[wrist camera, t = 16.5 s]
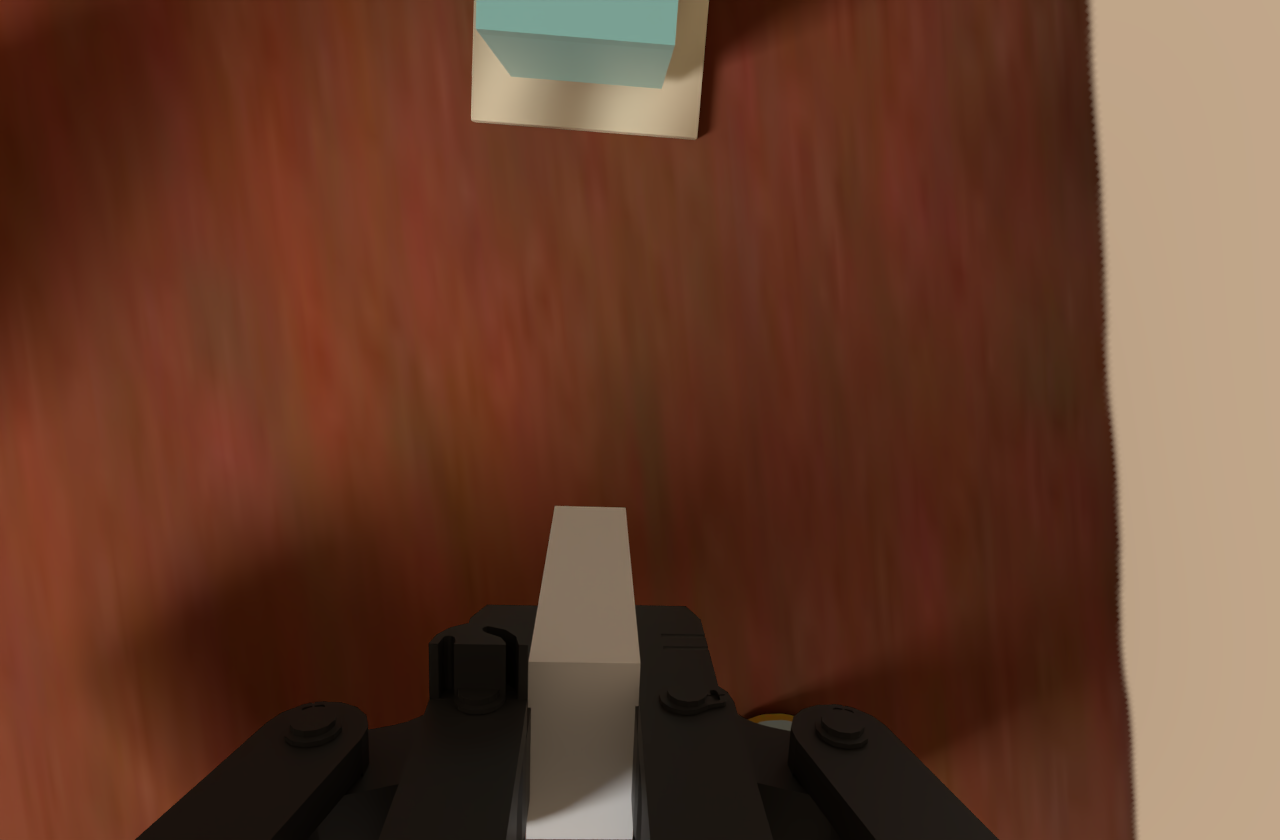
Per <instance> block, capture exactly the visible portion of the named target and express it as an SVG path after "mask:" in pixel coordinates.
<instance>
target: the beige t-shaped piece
mask: <svg viewBox="0 0 1280 840" xmlns="http://www.w3.org/2000/svg"><path fill="white" fill-rule="evenodd" d="M708 6H709V0H678V12H677V25H676V38H675V47H674V50H673V53H672V57H671V60H670V63H669V66H668V70H667V73H666V76H665V79H664V83H663V86H662V89H658V88H646V87H633V86H621V85H609V84H596V83H584V82H572V81H559V80H547V79H535V78H522V77H511V76H510V74H509V73H508V72H507V70H506V69H505V68H504V66H503V65H502V64H501V62H500V61H499V60H498V58H497V57H496V56H495V54H494V53H493V51H492V50H491V49H490V47H489V46H488V45H487V43H486V42H485V41H484V39H483V38H482V37H481V35H480V34H479V33H478V31H477V30H476V0H474V21H473V62H472V102H471V120H472V121H473V122H480V123H492V124H505V125H517V126H529V127H542V128H554V129H567V130H579V131H592V132H604V133H617V134H629V135H642V136H654V137H667V138H679V139H692V140H696V139H697V134H698V123H699V111H700V99H701V88H702V76H703V64H704V52H705V41H706V29H707V17H708Z"/></svg>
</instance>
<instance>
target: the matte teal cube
mask: <svg viewBox="0 0 1280 840" xmlns="http://www.w3.org/2000/svg"><path fill="white" fill-rule="evenodd" d="M677 12H678V0H476V30H477V31H478V33H479V34H480V35H481V37H482V38H483V39H484V41H485V42H486V43H487V45H488V46H489V47H490V49H491V50H492V51H493V53H494V54H495V56H496V57H497V58H498V60H499V61H500V62H501V64H502V65H503V66H504V68H505V69H506V70H507V72H508V73H509V74H510V76H511V77H522V78H535V79H547V80H559V81H572V82H584V83H596V84H609V85H621V86H633V87H646V88H658V89H662V86H663V83H664V79H665V76H666V73H667V70H668V66H669V63H670V60H671V57H672V53H673V50H674V47H675V38H676V25H677Z"/></svg>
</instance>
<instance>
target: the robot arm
mask: <svg viewBox="0 0 1280 840" xmlns="http://www.w3.org/2000/svg"><path fill="white" fill-rule="evenodd" d="M429 693H430V700H429V702H428V705H427V708H426V711H425V713H424V715H422V716H420V717H418V718H415V719H413V720H410V721H408V722H404V723H400V724H396V725H392V726H387V727H381V728H376V729H370V730H368V722H367V716H366V715H365V714H364V713H363V712H362V711H361V710H360V709H359V708H357V707H355V706H352V705H348V704H345V703H342V702H325V701H323V702H315V703H308V704H303V705H300V706H298V707H296V708H293V709H290V710H288V711H285V712H282V713H281V714H279V715H278V716H276V717H275V718H273V719H271V720H270V721H268V722H267V723H266V724H265V725H263V726H262V727H261V728H260V729H259V730H258V731H257V732H256V733H254V734H253V735H252V736H251V737H250V738H249V739H248V740H247V741H245V742H244V743H243V744H242V745H241V746H240V747H239V748H238V749H236V750H235V751H234V752H233V753H232V754H231V755H230V756H229V757H227V758H226V759H225V760H224V761H223V762H222V763H221V764H220V765H218V766H217V767H216V768H215V769H214V770H213V771H212V772H211V773H209V774H208V775H207V776H206V777H205V778H204V779H203V780H202V781H200V782H199V783H198V784H197V785H196V786H195V787H194V788H193V789H191V790H190V791H189V792H188V793H187V794H186V795H185V796H184V797H182V798H181V799H180V800H179V801H178V802H177V803H176V804H175V805H173V806H172V807H171V808H170V809H169V810H168V811H167V812H166V813H164V814H163V815H162V816H161V817H160V818H159V819H158V820H157V821H156V822H154V823H153V824H152V825H151V826H150V827H149V828H148V829H147V830H145V831H144V832H143V833H142V834H141V835H140V836H139V837H138V838H136V839H135V840H525V833H526V839H632V837H633V840H999V839H998V838H997V837H996V836H995V835H994V834H993V833H992V832H991V831H990V830H989V829H988V828H987V827H986V826H985V825H984V824H983V823H982V822H981V821H980V820H979V819H978V818H977V817H976V816H975V815H974V814H973V813H972V812H971V811H970V810H969V809H968V808H967V807H966V806H965V805H964V804H963V803H962V802H961V801H960V800H959V799H958V798H957V797H956V796H955V795H954V794H953V793H952V792H951V791H950V790H949V789H948V788H947V787H946V786H945V785H944V784H943V783H942V782H941V781H940V780H939V779H938V778H937V777H936V776H935V775H934V774H933V773H932V772H931V771H930V770H929V769H928V768H927V767H926V766H925V765H924V764H923V763H922V762H921V761H920V760H919V759H918V758H917V757H916V756H915V755H914V754H913V753H912V752H911V751H910V750H909V749H908V748H907V747H906V746H905V745H904V744H903V743H902V742H901V741H900V740H899V739H898V738H897V737H896V736H895V735H894V734H893V733H892V732H891V731H890V730H889V729H888V728H887V727H886V726H885V725H884V724H883V723H881V722H880V721H878V720H877V719H876V718H874V717H873V716H871V715H869V714H866V713H864V712H862V711H859V710H857V709H855V708H852V707H848V706H845V707H844V706H842V705H836V704H832V705H816V706H812V707H809V708H805V709H802V710H801V711H800V712H799V713H797V714H796V715H795V716H794V717H793V720H792V725H791V731H788V730H783V729H778V728H773V727H769V726H765V725H761V724H758V723H754V722H752V721H750V720H748V719H745V718H743V717H741V716H740V715H738V714H737V711H736V707H735V704H734V701H733V700H732V698H731V697H730V695H729V694H728V692H726V691H725V690H723V689H722V688H721V687H719V686H718V684H717V680H716V676H715V672H714V668H713V665H712V661H711V657H710V653H709V650H708V646H707V642H706V638H705V634H704V631H703V627H702V623H701V619H699V618H698V617H697V616H696V615H695V614H694V613H693V612H692V611H690V610H689V609H688V608H687V607H686V606H645V605H635V601H634V590H633V580H632V570H631V559H630V549H629V538H628V528H627V517H626V508H619V507H579V506H555V508H554V514H553V520H552V526H551V531H550V537H549V543H548V549H547V555H546V561H545V567H544V573H543V579H542V585H541V591H540V597H539V602H538V606H525V605H486V606H485V607H484V608H482V609H481V610H480V611H479V612H477V613H476V614H475V615H474V616H472V617H471V618H470V621H469V623H466V624H462V625H459V626H455V627H451V628H448V629H446V630H445V631H443V632H441V633H439V634H437V635H436V636H435V637H434V638H433V639H432V641H431V642H430V643H429Z"/></svg>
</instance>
